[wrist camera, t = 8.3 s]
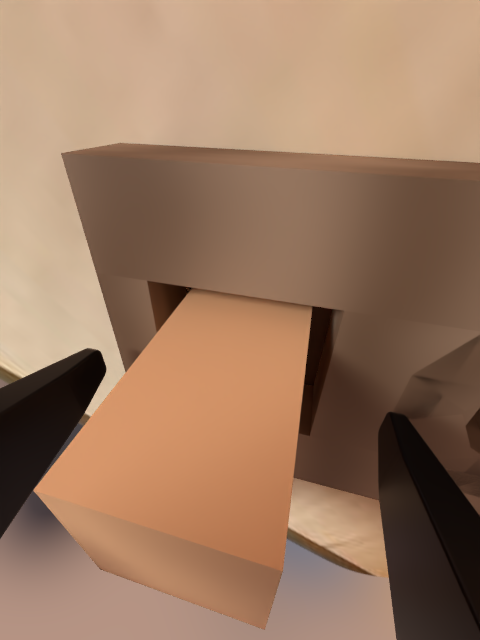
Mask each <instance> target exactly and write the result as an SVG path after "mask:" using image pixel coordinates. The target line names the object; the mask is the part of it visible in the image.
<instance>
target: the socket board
mask: <svg viewBox="0 0 480 640" xmlns="http://www.w3.org/2000/svg"><path fill="white" fill-rule="evenodd" d="M61 155H62V158H63V161H64V165H65V168H66V172H67V175H68V178H69V182H70V185H71V188H72V192H73V195H74V199H75V202H76V205H77V209H78V212H79V216H80V219H81V222H82V226H83V229H84V233H85V236H86V239H87V243H88V246H89V249H90V253H91V256H92V260H93V263H94V266H95V270H96V273H97V277H98V280H99V283H100V287H101V290H102V293H103V297H104V300H105V304H106V307H107V310H108V314H109V317H110V321H111V324H112V327H113V331H114V334H115V338H116V341H117V344H118V348H119V351H120V354H121V358H122V361H123V365H124V368H125V371H126V372H127V370H128V369H129V368H130V367H131V365H132V364H133V363H134V362H135V360H136V359H137V358H138V356H139V355H140V354H141V353H142V351H143V350H144V349H145V348H146V346H147V345H148V344H149V342H150V341H151V340H152V339H153V337H154V336H155V335H156V334H157V332H158V331H159V330H160V328H161V327H162V326H163V325H164V323H165V322H166V321H167V319H168V318H169V317H170V316H171V314H172V313H173V312H174V311H175V309H176V308H177V307H178V305H179V304H180V303H181V302H182V300H183V299H184V298H185V297H186V287H192V288H198V289H205V290H211V291H218V292H225V293H231V294H238V295H244V296H251V297H257V298H264V299H270V300H277V301H284V302H290V303H297V304H303V305H310V306H316V307H323V308H329V309H332V314H331V318H330V322H329V326H328V330H327V334H326V338H325V342H324V346H323V350H322V354H321V358H320V362H319V366H318V370H317V374H316V379H315V383H314V386H312V385H307V384H304V386H303V395H302V404H301V413H300V422H299V431H298V440H297V449H296V458H295V467H294V476H293V478H297V479H301V480H305V481H308V482H312V483H316V484H320V485H323V486H327V487H331V488H335V489H339V490H342V491H346V492H350V493H354V494H357V495H361V496H365V497H369V498H372V499H376V500H379V490H378V432H379V428H380V426H381V424H382V422H383V420H384V418H385V416H386V414H387V413H388V412H396V413H401V414H404V415H405V416H407V418H408V419H409V420H410V422H411V423H412V424H413V426H414V427H415V428H416V430H417V431H418V432H419V434H420V435H421V437H422V438H423V439H424V441H425V442H426V443H427V445H428V446H429V447H430V449H431V450H432V451H433V453H434V454H435V456H436V457H437V458H438V460H439V461H440V462H441V464H442V465H443V466H444V468H445V469H446V470H447V472H448V473H449V475H450V476H451V477H452V479H453V480H454V481H455V483H456V484H457V485H458V487H459V488H460V489H461V491H462V492H463V494H464V495H465V496H466V498H467V499H468V500H469V502H470V503H471V504H472V506H473V507H474V508H475V510H476V511H477V513H478V514H479V515H480V163H469V162H451V161H433V160H415V159H397V158H379V157H361V156H343V155H325V154H307V153H289V152H271V151H253V150H235V149H217V148H199V147H181V146H163V145H145V144H127V143H118V144H112V145H107V146H101V147H95V148H89V149H83V150H78V151H72V152H66V153H61Z"/></svg>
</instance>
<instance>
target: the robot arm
mask: <svg viewBox="0 0 480 640" xmlns="http://www.w3.org/2000/svg"><path fill="white" fill-rule="evenodd" d="M105 373H106V365H105V362H104V359H103V357H102V354H101V352H100V351H99V350H96V349H91V348H87V349H84V350H82V351H80V352H78V353H75V354H73V355H71V356H69V357H67V358H65V359H63V360H60V361H58V362H56V363H54V364H52V365H50V366H47V367H45V368H43V369H41V370H39V371H37V372H35V373H32V374H30V375H28V376H26V377H24V378H22V379H19V380H17V381H15V382H13V383H11V384H9V385H7V386H5V387H2V388H0V538H1V537H2V535H3V534H4V532H5V531H6V530H7V528H8V527H9V525H10V523H11V522H12V521H13V519H14V518H15V516H16V515H17V513H18V512H19V510H20V509H21V507H22V506H23V504H24V503H25V501H26V500H27V498H28V497H29V495H30V494H31V492H32V491H33V489H34V488H35V486H36V485H37V483H38V482H39V480H40V479H41V477H42V476H43V474H44V473H45V471H46V470H47V468H48V467H49V465H50V464H51V462H52V461H53V459H54V458H55V457H56V455H57V453H58V452H59V451H60V449H61V447H62V446H63V445H64V443H65V442H66V440H67V439H68V437H69V436H70V434H71V432H72V431H73V430H74V428H75V427H76V425H77V424H78V422H79V421H80V419H81V418H82V416H83V414H84V413H85V411H86V409H87V407H88V406H89V404H90V402H91V400H92V398H93V396H94V394H95V393H96V391H97V389H98V387H99V385H100V383H101V381H102V380H103V378H104V376H105ZM378 490H379V501H380V509H381V517H382V526H383V534H384V542H385V550H386V558H387V566H388V574H389V582H390V590H391V599H392V607H393V614H394V623H395V631H396V639H397V640H480V515H479V514H478V513H477V511H476V510H475V508H474V507H473V506H472V504H471V503H470V502H469V500H468V499H467V498H466V496H465V495H464V494H463V492H462V491H461V489H460V488H459V487H458V485H457V484H456V483H455V481H454V480H453V479H452V477H451V476H450V475H449V473H448V472H447V470H446V469H445V468H444V466H443V465H442V464H441V462H440V461H439V460H438V458H437V457H436V456H435V454H434V453H433V451H432V450H431V449H430V447H429V446H428V445H427V443H426V442H425V441H424V439H423V438H422V437H421V435H420V434H419V432H418V431H417V430H416V428H415V427H414V426H413V424H412V423H411V422H410V420H409V419H408V418H407V416H405V415H404V414H401V413H396V412H388V413H387V414H386V416H385V418H384V420H383V422H382V424H381V426H380V428H379V432H378Z"/></svg>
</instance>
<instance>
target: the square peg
mask: <svg viewBox="0 0 480 640" xmlns="http://www.w3.org/2000/svg"><path fill="white" fill-rule="evenodd" d="M311 315H312V306H310V305H303V304H297V303H290V302H284V301H277V300H270V299H264V298H257V297H251V296H244V295H238V294H231V293H225V292H218V291H211V290H205V289H198V288H192V289H191V290H190V291H189V293H188V294H187V295H186V297H185V298H184V299H183V300H182V302H181V303H180V304H179V305H178V307H177V308H176V309H175V311H174V312H173V313H172V314H171V316H170V317H169V318H168V319H167V321H166V322H165V323H164V325H163V326H162V327H161V328H160V330H159V331H158V332H157V334H156V335H155V336H154V337H153V339H152V340H151V341H150V342H149V344H148V345H147V346H146V348H145V349H144V350H143V351H142V353H141V354H140V355H139V356H138V358H137V359H136V360H135V362H134V363H133V364H132V365H131V367H130V368H129V369H128V370H127V372H126V373H125V374H124V376H123V377H122V378H121V379H120V381H119V382H118V383H117V384H116V386H115V387H114V388H113V390H112V391H111V392H110V393H109V395H108V396H107V397H106V398H105V400H104V401H103V402H102V404H101V405H100V406H99V407H98V409H97V410H96V411H95V412H94V414H93V415H92V416H91V418H90V419H89V420H88V421H87V423H86V424H85V425H84V427H83V428H82V429H81V430H80V432H79V433H78V434H77V435H76V437H75V438H74V439H73V441H72V442H71V443H70V444H69V446H68V447H67V448H66V450H65V451H64V452H63V453H62V455H61V456H60V457H59V459H58V460H57V461H56V462H55V464H54V465H53V466H52V467H51V469H50V470H49V471H48V472H47V474H46V475H45V476H44V477H43V479H42V480H41V481H40V483H39V484H38V485H37V486H36V488H35V489H34V491H35V493H36V494H37V495H38V496H39V497H40V499H42V501H43V502H44V503H45V504H46V506H47V507H48V508H49V509H50V510H51V512H52V513H53V514H54V515H55V516H56V517H57V519H58V520H59V521H60V522H61V523H62V525H63V526H64V527H65V528H66V529H67V530H68V532H69V533H70V534H71V535H72V536H73V538H74V539H75V540H76V541H77V542H78V544H79V545H80V546H81V547H82V548H83V549H84V551H85V552H86V553H87V554H88V555H89V556H90V558H91V559H92V560H93V561H94V562H95V564H96V565H97V566H98V567H99V568H100V569H101V570H104V571H106V572H109V573H112V574H115V575H117V576H120V577H123V578H126V579H128V580H131V581H134V582H136V583H139V584H142V585H145V586H147V587H150V588H153V589H156V590H158V591H161V592H164V593H166V594H169V595H172V596H174V597H177V598H180V599H182V600H185V601H188V602H191V603H193V604H196V605H199V606H201V607H204V608H207V609H210V610H212V611H215V612H218V613H220V614H223V615H226V616H229V617H232V618H234V619H237V620H239V621H242V622H245V623H248V624H250V625H253V626H256V627H258V628H261V629H265V627H266V624H267V620H268V617H269V614H270V610H271V608H272V604H273V601H274V598H275V595H276V591H277V588H278V585H279V582H280V579H281V575H282V572H283V564H284V555H285V547H286V538H287V529H288V520H289V511H290V502H291V493H292V485H293V476H294V467H295V458H296V449H297V440H298V431H299V422H300V413H301V404H302V395H303V386H304V378H305V369H306V360H307V351H308V342H309V333H310V324H311Z"/></svg>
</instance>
